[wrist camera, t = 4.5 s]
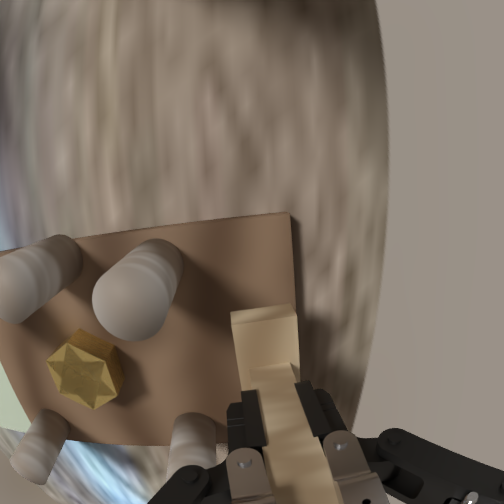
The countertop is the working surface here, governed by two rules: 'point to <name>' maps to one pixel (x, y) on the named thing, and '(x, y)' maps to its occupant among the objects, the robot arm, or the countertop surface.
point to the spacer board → (178, 343)
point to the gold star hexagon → (86, 369)
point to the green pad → (11, 407)
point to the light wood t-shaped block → (281, 404)
